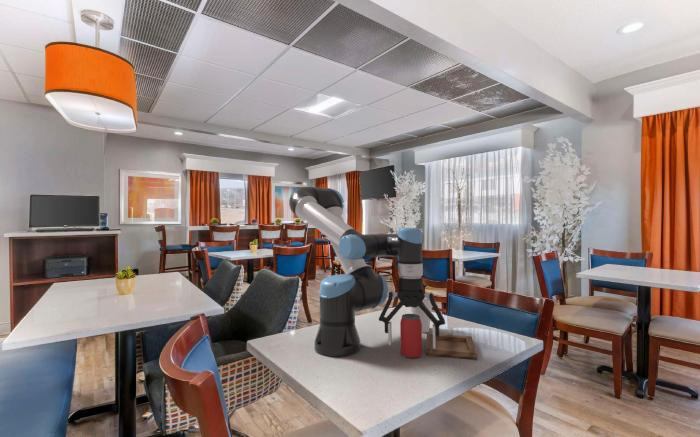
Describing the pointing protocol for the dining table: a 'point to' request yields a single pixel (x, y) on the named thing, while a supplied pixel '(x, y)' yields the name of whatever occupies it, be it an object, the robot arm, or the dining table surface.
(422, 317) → the foam cup
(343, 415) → the dining table surface
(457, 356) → the wooden tray
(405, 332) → the beer can
